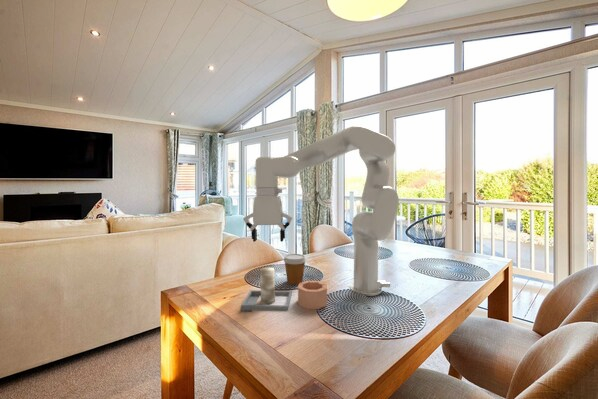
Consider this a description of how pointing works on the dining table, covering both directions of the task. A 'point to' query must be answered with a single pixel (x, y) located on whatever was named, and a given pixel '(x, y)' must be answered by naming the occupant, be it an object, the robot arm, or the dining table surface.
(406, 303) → the dining table surface
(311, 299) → the terracotta octagonal pot
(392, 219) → the robot arm
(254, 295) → the tray
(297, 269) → the disposable coffee cup
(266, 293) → the peg
